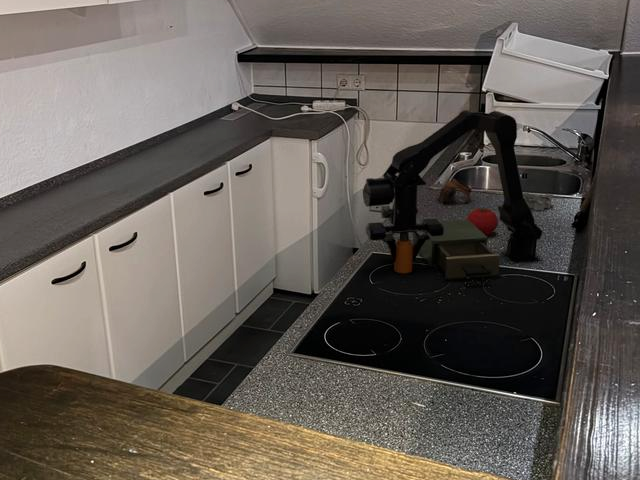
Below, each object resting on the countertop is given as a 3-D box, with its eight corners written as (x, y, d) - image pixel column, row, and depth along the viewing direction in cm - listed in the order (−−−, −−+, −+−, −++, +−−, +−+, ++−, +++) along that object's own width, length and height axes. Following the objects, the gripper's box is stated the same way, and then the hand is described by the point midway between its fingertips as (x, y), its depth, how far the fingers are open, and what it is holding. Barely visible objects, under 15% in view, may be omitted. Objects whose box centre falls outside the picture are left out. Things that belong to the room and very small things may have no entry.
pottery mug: (440, 196, 255) (454, 176, 252) (463, 212, 252) (478, 191, 249) (430, 197, 244) (444, 175, 242) (454, 214, 241) (468, 192, 238)
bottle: (409, 265, 198) (410, 229, 195) (414, 272, 194) (415, 235, 190) (392, 267, 198) (393, 230, 194) (396, 273, 194) (397, 237, 190)
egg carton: (554, 207, 240) (555, 195, 238) (538, 212, 236) (539, 199, 234) (526, 199, 248) (527, 187, 247) (511, 203, 244) (512, 191, 243)
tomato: (484, 227, 224) (486, 201, 222) (503, 236, 217) (505, 209, 214) (459, 231, 221) (460, 205, 218) (478, 241, 214) (479, 214, 211)
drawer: (505, 281, 185) (507, 261, 183) (451, 285, 184) (453, 265, 182) (479, 255, 201) (480, 236, 199) (429, 258, 200) (430, 239, 198)
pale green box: (485, 262, 199) (487, 237, 196) (431, 266, 197) (432, 241, 195) (466, 243, 212) (468, 219, 210) (415, 247, 211) (416, 222, 208)
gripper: (432, 191, 198) (429, 247, 203) (361, 195, 196) (361, 252, 202) (445, 203, 187) (442, 262, 193) (371, 208, 186) (370, 268, 191)
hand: (403, 260), depth 195 cm, fingers closed on bottle, 5 cm apart
